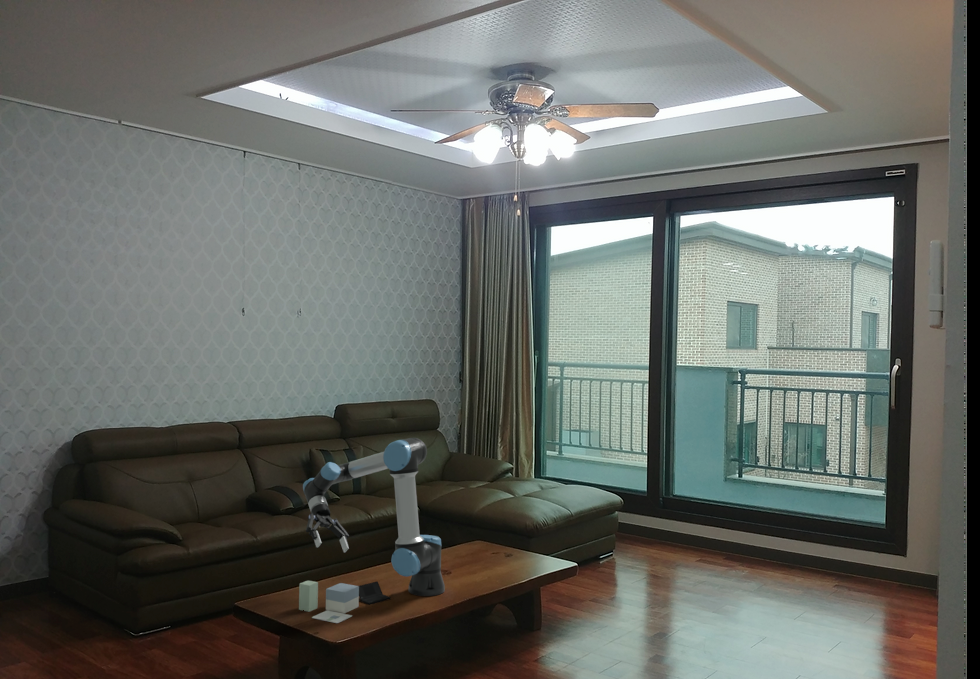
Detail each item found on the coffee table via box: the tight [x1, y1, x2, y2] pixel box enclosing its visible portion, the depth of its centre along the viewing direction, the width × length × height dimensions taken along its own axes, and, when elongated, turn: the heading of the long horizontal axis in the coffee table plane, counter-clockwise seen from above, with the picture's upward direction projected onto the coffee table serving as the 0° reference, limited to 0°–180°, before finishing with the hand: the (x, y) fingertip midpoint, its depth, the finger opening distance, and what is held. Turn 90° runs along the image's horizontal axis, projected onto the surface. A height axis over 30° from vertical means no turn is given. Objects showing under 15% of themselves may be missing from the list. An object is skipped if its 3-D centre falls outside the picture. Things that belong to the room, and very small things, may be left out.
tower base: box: [325, 582, 360, 614], centre depth 303 cm, size 9×9×8 cm
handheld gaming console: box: [358, 581, 391, 606], centre depth 315 cm, size 12×7×10 cm
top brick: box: [298, 580, 319, 612], centre depth 302 cm, size 5×5×10 cm
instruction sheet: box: [311, 610, 353, 624], centre depth 293 cm, size 12×9×1 cm
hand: (332, 547), depth 313 cm, fingers open, 13 cm apart
